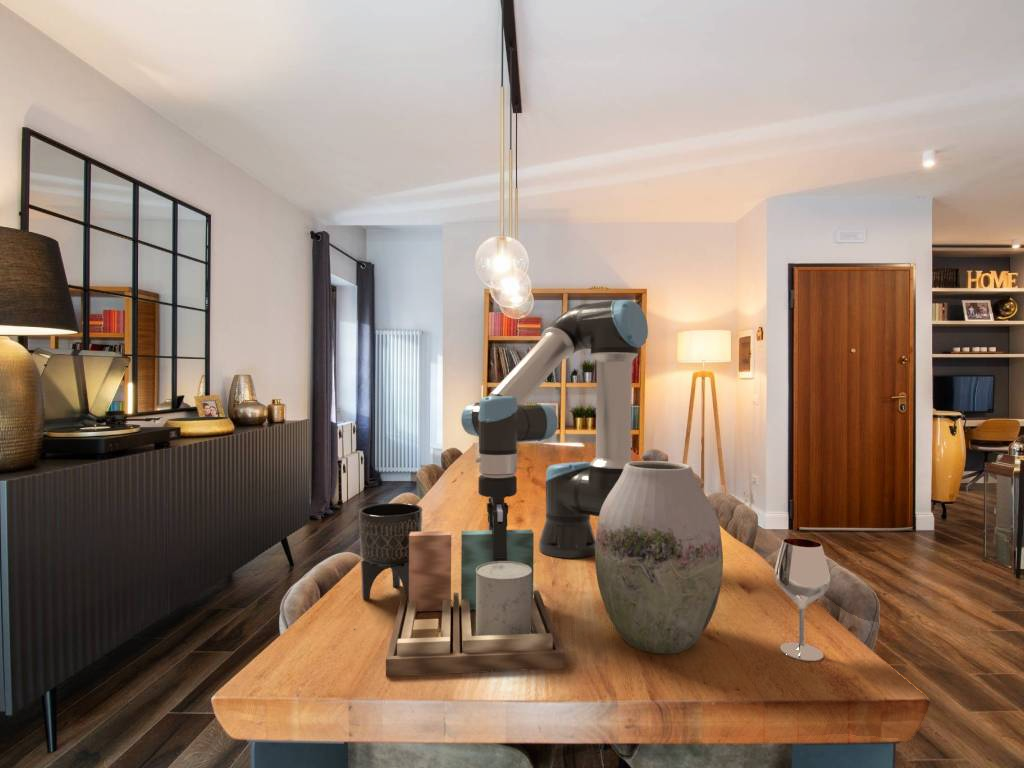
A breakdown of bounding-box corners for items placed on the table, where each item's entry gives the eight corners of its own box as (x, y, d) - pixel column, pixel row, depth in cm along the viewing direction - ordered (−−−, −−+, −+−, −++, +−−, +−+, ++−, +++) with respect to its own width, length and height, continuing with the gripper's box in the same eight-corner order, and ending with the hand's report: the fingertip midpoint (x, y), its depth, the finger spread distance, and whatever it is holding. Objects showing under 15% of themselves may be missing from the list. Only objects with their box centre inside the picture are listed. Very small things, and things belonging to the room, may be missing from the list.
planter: (366, 611, 111) (367, 518, 111) (352, 589, 123) (352, 506, 123) (430, 599, 117) (431, 512, 117) (411, 580, 129) (411, 500, 129)
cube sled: (450, 604, 114) (451, 531, 114) (449, 667, 89) (450, 572, 89) (409, 605, 113) (410, 531, 113) (396, 669, 88) (397, 574, 88)
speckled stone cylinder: (538, 634, 101) (538, 564, 101) (521, 659, 92) (521, 581, 92) (487, 626, 104) (487, 558, 104) (466, 649, 95) (466, 575, 95)
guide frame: (538, 602, 116) (538, 590, 116) (563, 668, 89) (563, 652, 89) (402, 607, 113) (402, 594, 113) (385, 676, 86) (385, 659, 86)
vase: (750, 658, 93) (751, 471, 93) (631, 677, 87) (632, 476, 87) (676, 609, 113) (677, 455, 113) (575, 621, 107) (576, 459, 107)
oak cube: (438, 642, 98) (438, 618, 98) (437, 653, 94) (437, 628, 94) (414, 643, 98) (414, 619, 98) (412, 654, 94) (412, 629, 94)
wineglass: (764, 642, 99) (765, 536, 99) (810, 640, 99) (810, 535, 99) (791, 665, 91) (792, 550, 91) (841, 663, 91) (841, 549, 91)
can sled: (531, 601, 116) (531, 529, 116) (552, 662, 90) (553, 570, 90) (461, 604, 114) (461, 530, 114) (462, 666, 89) (463, 572, 89)
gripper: (476, 467, 124) (475, 573, 124) (480, 484, 103) (480, 611, 103) (511, 466, 125) (510, 572, 124) (522, 483, 104) (522, 610, 103)
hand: (496, 589), depth 114 cm, fingers open, 8 cm apart
